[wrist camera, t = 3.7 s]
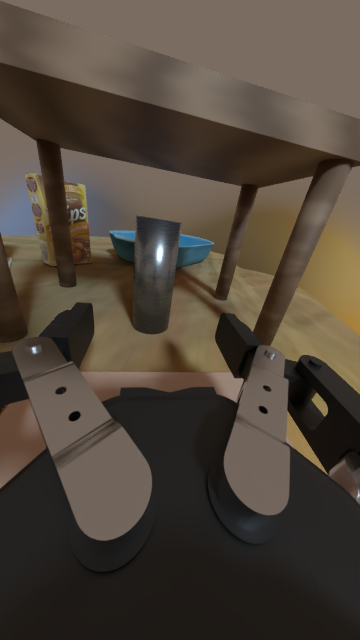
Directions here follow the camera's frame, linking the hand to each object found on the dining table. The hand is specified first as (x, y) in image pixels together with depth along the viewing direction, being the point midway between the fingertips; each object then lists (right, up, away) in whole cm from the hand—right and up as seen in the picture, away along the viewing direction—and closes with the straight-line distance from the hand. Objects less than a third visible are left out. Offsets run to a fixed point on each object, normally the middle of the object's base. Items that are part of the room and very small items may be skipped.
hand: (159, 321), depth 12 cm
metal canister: (-2, 0, +12) cm, 12 cm away
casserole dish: (-3, +19, +50) cm, 53 cm away
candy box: (-24, +13, +30) cm, 41 cm away
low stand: (-3, +1, +16) cm, 16 cm away
